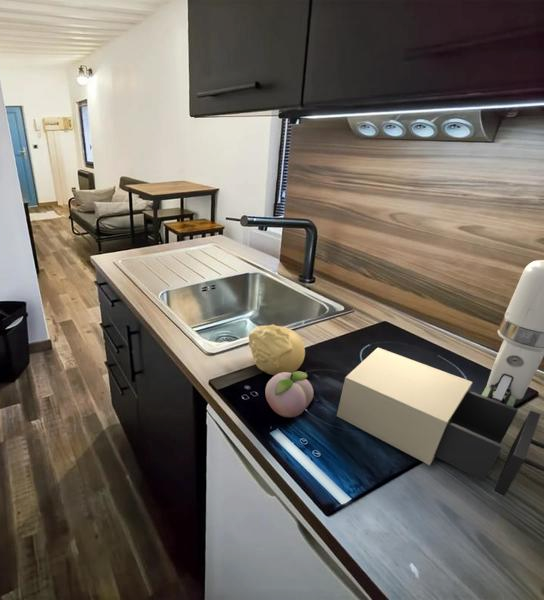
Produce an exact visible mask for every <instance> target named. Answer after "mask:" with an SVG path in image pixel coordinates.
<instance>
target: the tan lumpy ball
mask: <svg viewBox="0 0 544 600" xmlns="http://www.w3.org/2000/svg"><path fill="white" fill-rule="evenodd" d="M248 347H249V348H250V351H251V354H252V355H251V356H252V358H253V363H254V365H255V366H256V367H257V368H258V369H259V370H260V371H262V372H264V373H266V374H268V375H270V376H273V377H274V376H275V375H277V374H279V373H283V372H288V373H293V372H296V371H298V369H299V368H300V367H301V366H302V364H303V363H304V360H305V356H306V349H305V348H306V347H305V344H304V341H303V340H302V338H301V337H300V336H299V334H298V333H297V332H296V331H294V330H293V329H291V328H289V327H287V326H286V327H285V326H281V325H275V324H273V323H272V324H270V325H258V326H256V327H254V328H253V329H252V331H251V332H250V333H249V334H248Z"/></svg>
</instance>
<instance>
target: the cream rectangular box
mask: <svg viewBox="0 0 544 600" xmlns="http://www.w3.org/2000/svg"><path fill="white" fill-rule="evenodd" d="M343 381H344V382H343V386H342V390H341V395H340V399H339V402H338V408H337V412H336V417H338V418H339V419H341V420H343V421H345V422H347V423H349V424H351V425H353V426H355V427H356V428H358V429H360V430H362V431H364V432H366V433H367V434H369V435H371V436H373V437H375V438H377V439H379V440H381V441H382V442H385V443H386V444H389V445H390V446H392V447H393V448H396V449H398V450H399V451H402V452H404V453H406V454H407V455H409V456H411V457H413V458H414V459H417V460H418V461H421V462H422V463H425V465H428V466H431V464H432V463H433V461H434V459H435V458H436V457H435V456H434V455H435V453H436V450H437V448H438V446H439V443H440V441H441V438H442V436H443V433H444V431H445V429H446V426H447V424H448V422H449V421H450V419H451V417H452V416H453V414H454V412H455V411H456V409H457V408H458V406H459V404H460V403H461V401H462V400H463V398H464V396H465V395H466V393H467V392H468V390H469V391H471V387H472V385H473V381H472V380H469V379H465V378H463V377H460V376H457V375H455V374H452V373H449V372H446V371H443V370H441V369H438V368H435V367H433V366H430V365H428V364H425V363H423V362H422V363H421V362H419V361H416V360H414V359H410V358H408V357H405V356H403V355H400V354H397V353H394V352H392V351H388V350H387V349H383V348H381V347H377V348H375V349H374V350H373V351H372V352H371V353H370V354H369V355H368V356H367V357H366V358H365V359H363V360H362V361H361V362H360V363H359V364H358V365H356V367H355V368H354V369H352V371H350V373H348V374H347V375H346V376H345V377H344V380H343Z"/></svg>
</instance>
